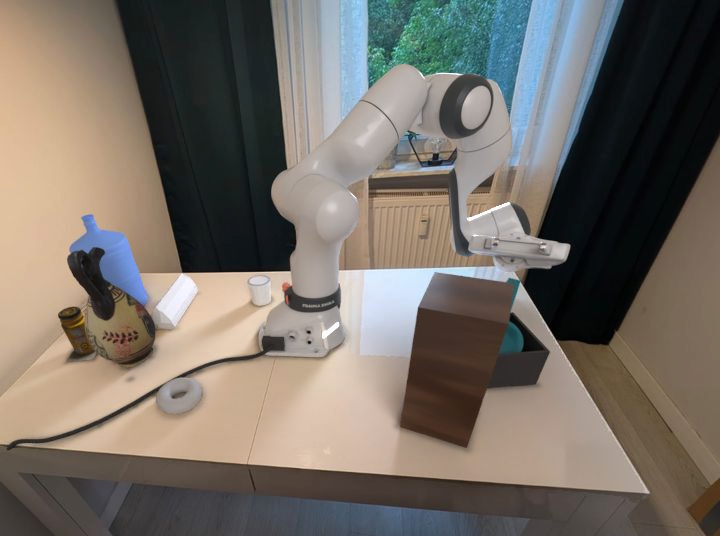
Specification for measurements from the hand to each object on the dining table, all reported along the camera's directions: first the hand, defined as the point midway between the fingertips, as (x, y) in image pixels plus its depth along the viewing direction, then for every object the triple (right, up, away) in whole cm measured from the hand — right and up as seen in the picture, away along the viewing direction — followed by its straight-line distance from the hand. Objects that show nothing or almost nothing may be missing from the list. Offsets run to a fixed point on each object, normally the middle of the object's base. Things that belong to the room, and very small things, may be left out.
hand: (519, 244), depth 82 cm
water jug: (-102, -9, +37) cm, 109 cm away
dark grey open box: (-6, -26, +2) cm, 27 cm away
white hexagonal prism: (-84, -11, +32) cm, 91 cm away
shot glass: (-58, -8, +33) cm, 67 cm away
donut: (-74, -34, +1) cm, 81 cm away
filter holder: (-3, -18, +3) cm, 18 cm away
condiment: (-104, -23, +19) cm, 109 cm away
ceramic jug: (-90, -25, +15) cm, 95 cm away
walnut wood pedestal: (-20, -36, -8) cm, 42 cm away
